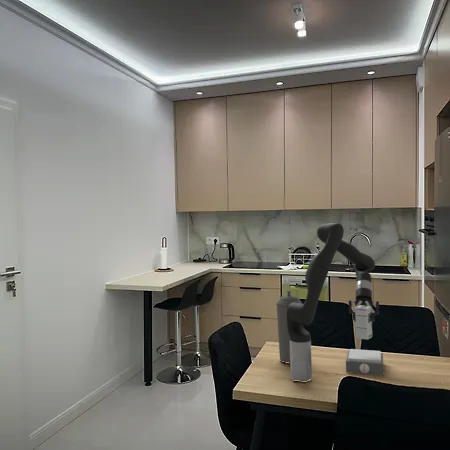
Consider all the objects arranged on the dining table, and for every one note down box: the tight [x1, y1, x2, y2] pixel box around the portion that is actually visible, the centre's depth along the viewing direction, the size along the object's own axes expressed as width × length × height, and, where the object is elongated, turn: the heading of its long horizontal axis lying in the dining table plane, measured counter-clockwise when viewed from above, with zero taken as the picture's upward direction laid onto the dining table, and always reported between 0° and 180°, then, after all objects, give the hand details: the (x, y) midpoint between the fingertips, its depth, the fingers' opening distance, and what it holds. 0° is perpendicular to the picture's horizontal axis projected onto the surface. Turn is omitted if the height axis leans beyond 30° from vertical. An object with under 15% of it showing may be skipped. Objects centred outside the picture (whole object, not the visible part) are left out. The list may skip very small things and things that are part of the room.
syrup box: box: [354, 305, 373, 340], centre depth 196 cm, size 6×6×14 cm
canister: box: [276, 290, 303, 363], centre depth 209 cm, size 13×13×35 cm
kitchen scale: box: [345, 348, 385, 377], centre depth 195 cm, size 17×16×6 cm
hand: (363, 321), depth 194 cm, fingers closed on syrup box, 7 cm apart
